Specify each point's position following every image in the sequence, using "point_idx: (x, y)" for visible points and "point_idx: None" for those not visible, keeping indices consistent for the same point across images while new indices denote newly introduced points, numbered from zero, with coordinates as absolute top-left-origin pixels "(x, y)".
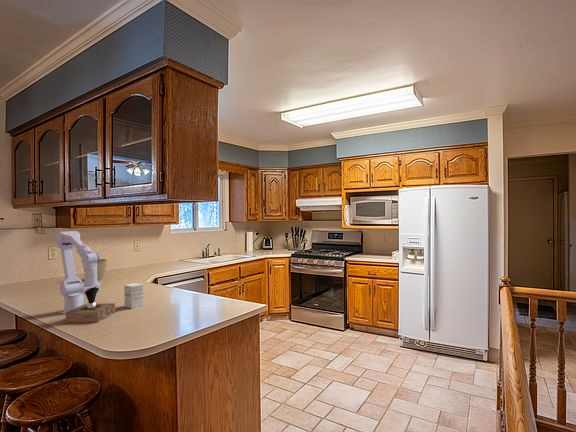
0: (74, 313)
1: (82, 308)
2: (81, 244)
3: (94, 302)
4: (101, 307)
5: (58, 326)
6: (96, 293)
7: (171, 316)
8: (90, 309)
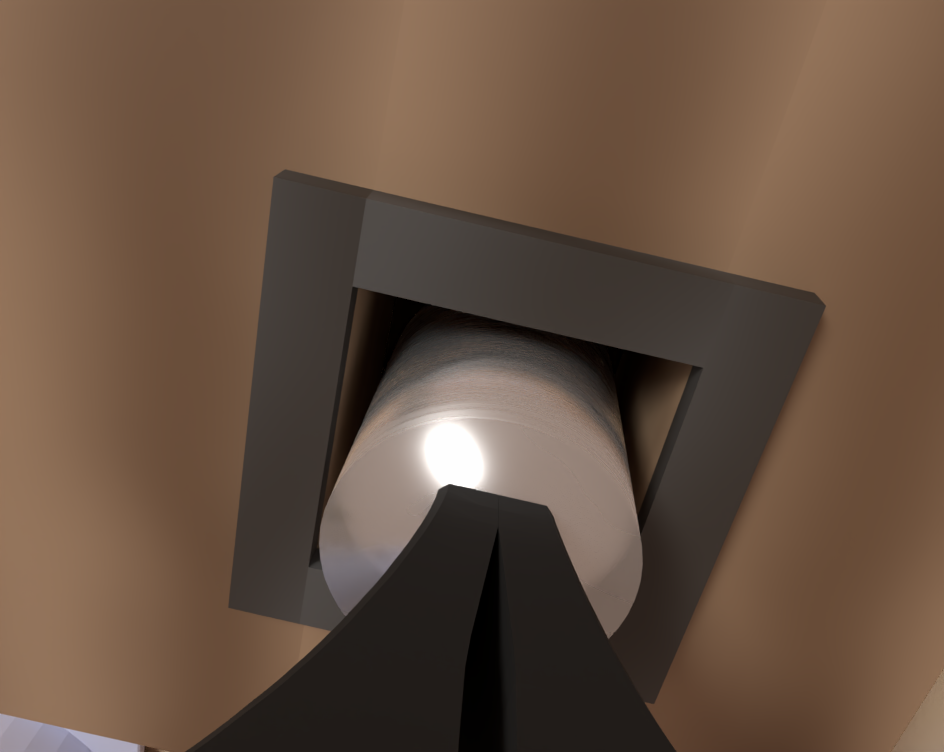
0: (890, 718)
1: (635, 661)
2: None
3: (462, 468)
4: (588, 115)
5: (939, 740)
6: (273, 716)
7: None
8: (757, 426)
